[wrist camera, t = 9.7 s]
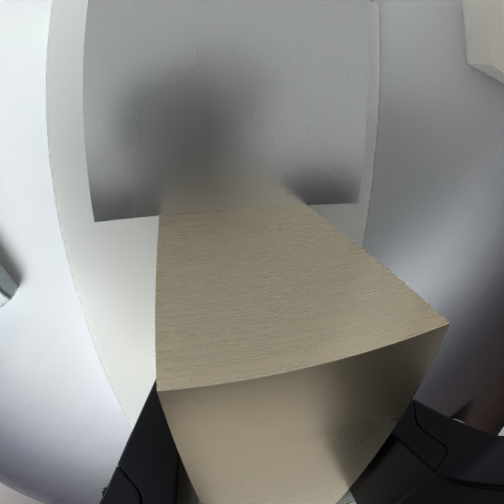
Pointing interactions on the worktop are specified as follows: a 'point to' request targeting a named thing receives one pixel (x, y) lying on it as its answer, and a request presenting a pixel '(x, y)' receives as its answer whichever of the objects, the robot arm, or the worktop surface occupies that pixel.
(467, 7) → the tile
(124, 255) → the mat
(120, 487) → the robot arm
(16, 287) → the hard drive
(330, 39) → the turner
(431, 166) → the worktop surface
